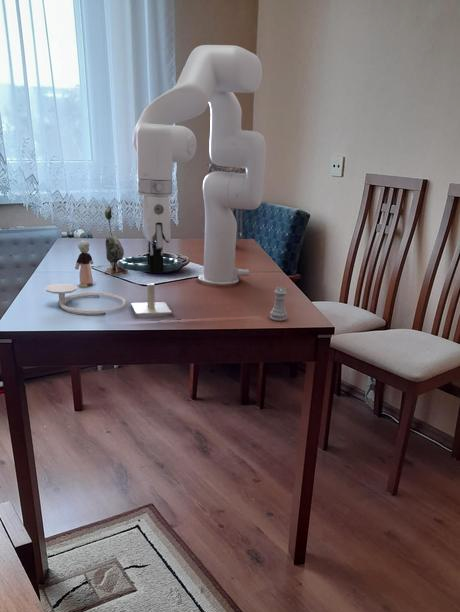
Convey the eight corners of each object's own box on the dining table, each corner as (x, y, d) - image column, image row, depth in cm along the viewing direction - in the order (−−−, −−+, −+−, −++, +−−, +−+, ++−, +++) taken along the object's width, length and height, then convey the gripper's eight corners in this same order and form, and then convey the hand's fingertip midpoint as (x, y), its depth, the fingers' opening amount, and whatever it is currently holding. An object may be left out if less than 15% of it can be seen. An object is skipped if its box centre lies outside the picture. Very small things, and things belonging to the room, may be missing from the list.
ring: (174, 262, 145) (174, 255, 144) (187, 271, 132) (187, 265, 131) (115, 262, 140) (115, 256, 140) (123, 272, 127) (122, 265, 127)
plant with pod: (99, 277, 169) (95, 208, 160) (108, 269, 179) (104, 204, 170) (125, 279, 169) (123, 210, 160) (132, 270, 179) (131, 205, 170)
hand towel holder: (121, 299, 135) (35, 296, 134) (122, 317, 137) (37, 313, 136) (129, 281, 150) (52, 278, 149) (130, 297, 152) (54, 294, 151)
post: (165, 306, 147) (165, 279, 143) (172, 316, 139) (172, 288, 136) (131, 307, 144) (130, 280, 141) (136, 318, 136) (135, 289, 133)
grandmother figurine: (87, 288, 157) (84, 243, 152) (74, 287, 158) (71, 241, 152) (98, 282, 164) (95, 238, 158) (86, 281, 165) (83, 237, 159)
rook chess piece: (268, 316, 144) (270, 285, 140) (285, 316, 144) (288, 286, 140) (270, 321, 140) (273, 290, 136) (288, 322, 140) (291, 290, 136)
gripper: (179, 192, 116) (178, 279, 125) (164, 184, 130) (164, 264, 138) (143, 191, 114) (144, 280, 122) (132, 183, 127) (134, 264, 136)
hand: (155, 271), depth 130 cm, fingers closed on ring, 1 cm apart
